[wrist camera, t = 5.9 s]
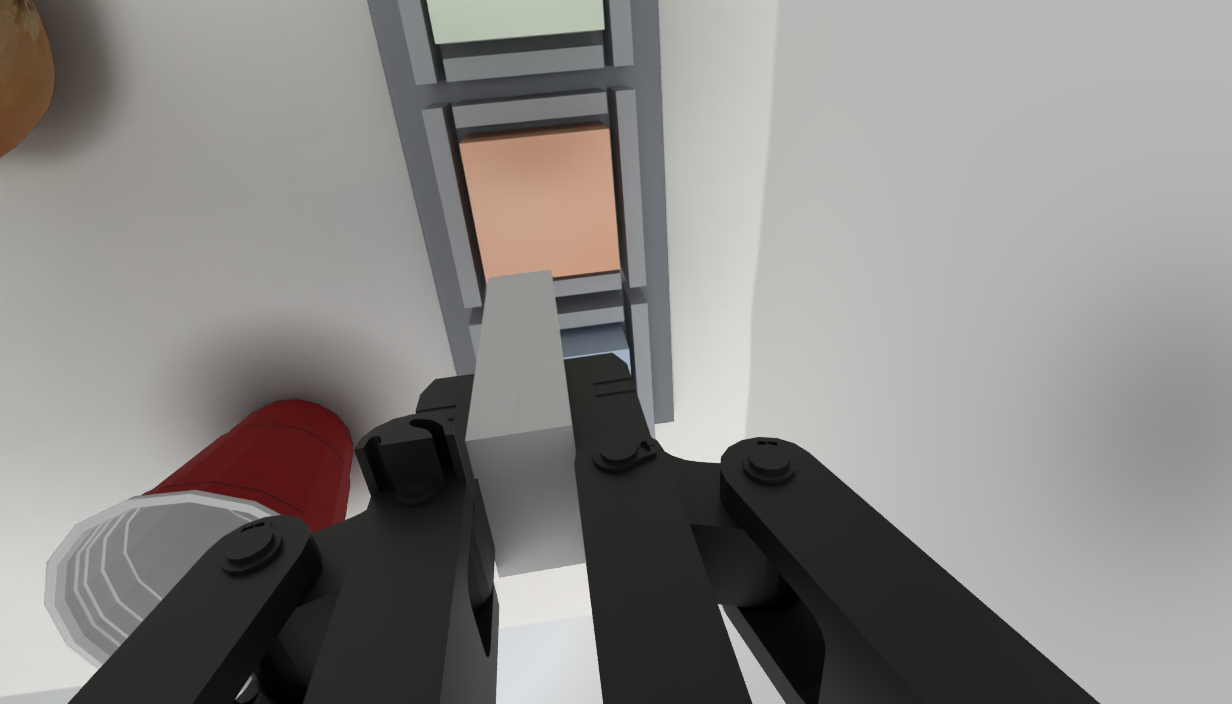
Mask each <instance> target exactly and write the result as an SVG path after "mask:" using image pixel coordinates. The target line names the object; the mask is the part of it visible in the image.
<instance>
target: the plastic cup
mask: <svg viewBox="0 0 1232 704" xmlns="http://www.w3.org/2000/svg"><path fill="white" fill-rule="evenodd" d="M352 445H353V444H352V440H351V437H350V433H349V430H348V428H347V427H346V426H345V424H344V423H343V422H342V421H341V420H340V418H339V417H338V416H337V415H336V414H334V413H332V412H331V411H329V410H327V409H326V408H324V407H322V406H320V405H319V404H315V403H310V402H306V401H301V400H287V401H276V402H274V403H272V404H270V405H268V406H265V407H263V408H261V409H259V410H258V411H255V412H253V413H251V414H250V415H249V416H248V417H246V418H245V419H244V420H243V421H242V422H240V423H239V424H238V425H237V426H236V427H234V428H233V429H232V430H231V431H230V432H228V433H227V434H224V435H222V436H220V437H219V438H218V439H217V440H215V441H214V442H213V443H211V444H210V445H209V446H208V447H206V448H205V449H204V450H202V451H201V452H200V453H199V454H197V455H196V456H195V457H193V458H192V459H191V460H190V461H188V462H187V463H186V464H184V465H183V466H182V467H181V468H179V469H178V470H177V471H176V472H174V473H173V474H172V475H170V476H169V477H168V478H167V479H165V480H164V481H163V482H161V483H160V484H159V485H158V486H156V487H155V488H154V489H152V490H150V491H148V492H146V493H144V494H142V495H141V496H134V497H132V498H130V499H128V500H126V501H124V502H122V503H120V504H118V505H116V506H113V507H111V508H109V509H107V510H105V511H103V512H101V513H99V514H97V515H95V516H93V517H90V518H88V519H86V520H84V521H82V522H80V523H78V524H76V525H75V526H74V527H73V529H72V530H71V531H70V533H69V534H68V535H67V536H66V538H65V539H64V540H63V542H62V543H61V544H60V546H59V547H58V548H57V549H56V551H55V552H54V553H53V555H52V556H51V557H50V558H49V560H48V561H47V565H46V582H45V598H44V605H45V607H46V609H47V611H48V613H49V614H50V616H51V618H52V620H53V622H54V623H55V625H56V627H57V629H58V631H59V632H60V634H61V636H62V638H63V640H64V642H65V643H66V645H67V646H69V647H70V648H71V649H73V650H74V651H75V652H76V653H78V654H79V655H80V656H82V657H83V658H84V659H86V660H87V661H88V662H89V663H91V664H92V665H93V666H95V667H96V668H97V669H100V667H101V666H102V665H103V664H104V663H105V662H106V661H107V660H108V659H109V658H110V656H111V655H112V654H113V653H114V652H115V651H116V650H117V649H118V648H119V647H120V645H121V644H122V643H123V642H124V641H125V640H126V639H127V638H128V637H129V636H130V635H131V633H132V632H133V631H134V630H135V629H136V628H137V627H138V626H139V625H140V624H141V622H142V621H143V620H144V619H145V618H146V617H147V616H148V615H149V614H150V613H151V611H152V610H153V609H154V608H155V607H156V606H157V605H158V604H159V603H160V602H161V600H162V599H163V598H164V597H165V596H166V595H167V594H168V593H169V592H170V591H171V589H172V588H173V587H174V586H175V585H176V584H177V583H178V582H179V581H180V580H181V578H182V577H183V576H184V575H185V574H186V573H187V572H188V571H189V570H190V569H191V567H192V566H193V565H194V564H195V563H196V562H197V561H198V560H199V559H200V558H201V556H202V555H203V554H204V553H205V552H206V551H207V550H208V549H209V548H211V547H212V546H213V545H214V544H215V543H216V542H217V541H219V540H220V539H221V538H222V537H223V536H225V535H227V534H228V533H230V532H232V531H233V530H235V529H237V528H239V527H240V526H242V525H244V524H247V523H249V522H252V521H255V520H258V519H261V518H263V517H268V516H276V515H284V514H285V515H290V516H295V517H299V518H301V519H302V520H303V521H304V522H305V523H306V524H307V525H308V526H309V529H310V531H311V533H313V532H316V531H319V530H321V529H324V528H327V527H329V526H332V525H335V524H337V523H340V522H342V521H345V517H346V510H347V503H348V496H349V489H350V479H349V476H350V470H351V463H352V457H353V448H352ZM251 680H252V677H251V676H250V678H249V679H248V681H247V682H246V684H245V685H244V687H243V688H242V690H241V691H240V693H239V694H238V696H237V697H239V695H240V694H241V693H242V692H243V691H244V690H245V689H246V688H247V686H248V685H249V683H250V682H251Z"/></svg>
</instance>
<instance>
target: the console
mask: <svg viewBox="0 0 1232 704" xmlns="http://www.w3.org/2000/svg"><path fill="white" fill-rule="evenodd" d="M367 1H368V6H369V10H370V14H371V18H372V22H373V27H374V31H375V35H376V39H377V43H378V47H379V52H380V56H381V60H382V64H383V68H384V72H385V77H386V81H387V85H388V89H389V93H390V98H391V102H392V106H393V110H394V114H395V118H396V123H397V127H398V131H399V135H400V139H401V143H402V148H403V152H404V156H405V160H406V164H407V169H408V173H409V177H410V181H411V185H412V189H413V194H414V198H415V202H416V206H417V210H418V215H419V219H420V223H421V227H422V231H423V235H424V240H425V244H426V248H427V252H428V256H429V260H430V265H431V269H432V273H433V277H434V281H435V286H436V290H437V294H438V298H439V302H440V306H441V311H442V315H443V319H444V323H445V327H446V331H447V336H448V340H449V344H450V348H451V352H452V357H453V361H454V365H455V369H456V373H457V376H462V375H469V374H475V369H476V361H477V354H478V347H479V340H480V333H481V326H482V319H483V312H484V305H485V298H486V291H487V284H486V279H485V274H484V269H483V264H482V259H481V253H480V248H479V243H478V238H477V233H476V228H475V223H474V218H473V212H472V207H471V202H470V197H469V192H468V187H467V182H466V177H465V171H464V166H463V161H462V156H461V151H460V146H459V143H460V142H461V141H462V139H463V138H464V136H465V135H466V134H473V133H483V132H493V131H503V130H513V129H523V128H533V127H543V126H553V125H563V124H573V123H583V122H593V121H602V122H603V123H604V124H605V125H606V126H607V127H608V128H609V134H610V146H611V159H612V172H613V184H614V197H615V210H616V223H617V235H618V248H619V261H620V269H618V270H610V271H602V272H594V273H585V274H577V275H569V276H561V277H553V278H552V279H553V286H554V293H555V301H556V308H557V315H558V322H559V329H560V330H563V329H571V328H579V327H587V326H594V325H602V324H610V323H618V322H620V324H621V327H622V330H623V332H624V335H625V338H626V341H627V344H628V347H629V354H630V367H631V377H632V380H633V383H634V386H635V389H636V392H637V395H638V398H639V401H640V404H641V407H642V410H643V413H644V416H645V419H646V422H647V425H648V428H649V431H650V434H651V437H652V438H654V439H655V427H654V424H659V423H666V422H672V421H674V410H673V383H672V357H671V331H670V304H669V278H668V251H667V225H666V199H665V172H664V146H663V119H662V93H661V66H660V40H659V14H658V0H603V12H604V26H605V29H604V30H600V31H596V32H585V33H574V34H562V35H551V36H539V37H528V38H516V39H504V40H493V41H481V42H470V43H458V44H447V45H444V44H435V40H434V35H433V30H432V25H431V20H430V15H429V10H428V5H427V0H367Z"/></svg>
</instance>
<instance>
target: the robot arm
mask: <svg viewBox="0 0 1232 704" xmlns="http://www.w3.org/2000/svg"><path fill="white" fill-rule="evenodd" d="M354 451H355V454H356V456H357V459H358V462H359V464H360V467H361V470H362V473H363V475H364V478H365V481H366V484H367V486H368V489H369V492H370V494H371V499H370V502H369V505H368V508H367V510H365V511H364V512H362V513H361V514H358V515H356V516H354V517H352V518H350V519H347V520H345V521H342V522H340V523H337V524H335V525H332V526H329V527H327V528H324V529H321V530H319V531H316V532H313V533H311V531H310V529H309V526H308V525H307V524H306V523H305V522H304V521H303V520H302V519H301V518H299V517H295V516H290V515H285V514H284V515H276V516H268V517H263V518H261V519H258V520H255V521H252V522H249V523H247V524H244V525H242V526H240V527H239V528H237V529H235V530H233V531H232V532H230V533H228V534H227V535H225V536H223V537H222V538H221V539H220V540H219V541H217V542H216V543H215V544H214V545H213V546H212V547H211V548H209V549H208V550H207V551H206V552H205V553H204V554H203V555H202V556H201V558H200V559H199V560H198V561H197V562H196V563H195V564H194V565H193V566H192V567H191V569H190V570H189V571H188V572H187V573H186V574H185V575H184V576H183V577H182V578H181V580H180V581H179V582H178V583H177V584H176V585H175V586H174V587H173V588H172V589H171V591H170V592H169V593H168V594H167V595H166V596H165V597H164V598H163V599H162V600H161V602H160V603H159V604H158V605H157V606H156V607H155V608H154V609H153V610H152V611H151V613H150V614H149V615H148V616H147V617H146V618H145V619H144V620H143V621H142V622H141V624H140V625H139V626H138V627H137V628H136V629H135V630H134V631H133V632H132V633H131V635H130V636H129V637H128V638H127V639H126V640H125V641H124V642H123V643H122V644H121V645H120V647H119V648H118V649H117V650H116V651H115V652H114V653H113V654H112V655H111V656H110V658H109V659H108V660H107V661H106V662H105V663H104V664H103V665H102V666H101V667H100V669H99V670H98V671H97V672H96V673H95V674H94V675H93V676H92V677H91V678H90V680H89V681H88V682H87V683H86V684H85V685H84V686H83V687H82V688H81V689H80V691H79V692H78V693H77V694H76V695H75V696H74V697H73V698H72V699H71V700H70V702H69V703H68V704H496V682H497V680H496V679H497V654H498V626H499V603H498V598H497V594H496V590H495V586H494V582H493V580H494V561H495V562H496V566H497V570H498V574H499V577H505V576H511V575H517V574H523V573H528V572H534V571H540V570H546V569H552V568H557V567H563V566H569V565H575V564H581V563H586V566H587V574H588V583H589V591H590V599H591V607H592V615H593V623H594V631H595V640H596V647H597V656H598V664H599V673H600V681H601V689H602V697H603V704H752V701H751V698H750V696H749V693H748V690H747V687H746V684H745V681H744V678H743V676H742V673H741V670H740V667H739V664H738V661H737V658H736V656H735V653H734V650H733V647H732V644H731V641H730V638H729V636H728V632H727V630H726V627H725V624H724V621H723V618H722V615H721V612H720V610H719V607H718V604H722V606H723V608H724V611H725V613H726V615H727V616H728V617H729V619H730V621H731V622H732V624H733V625H734V627H735V628H736V629H737V631H738V633H739V634H740V635H741V637H742V638H743V640H744V641H745V643H746V644H747V646H748V647H749V649H750V650H751V652H752V653H753V655H754V656H755V658H756V659H757V661H758V662H759V664H760V665H761V667H762V668H763V670H764V671H765V673H766V674H767V676H768V677H769V679H770V680H771V682H772V683H773V685H774V686H775V688H776V689H777V691H778V692H779V694H780V695H781V697H782V698H783V700H784V701H785V703H786V704H1100V703H1099V702H1098V701H1096V700H1095V699H1094V698H1093V697H1092V696H1091V695H1089V694H1088V693H1087V692H1086V691H1085V690H1084V689H1082V688H1081V687H1080V686H1079V685H1078V684H1077V683H1075V682H1074V681H1073V680H1072V679H1071V678H1070V677H1068V676H1067V675H1066V674H1065V673H1064V672H1063V671H1062V670H1060V669H1059V668H1058V667H1057V666H1056V665H1055V664H1054V663H1052V662H1051V661H1050V660H1049V659H1048V658H1046V657H1045V656H1044V655H1043V654H1042V653H1041V652H1040V651H1038V650H1037V649H1036V648H1035V647H1034V646H1033V645H1032V644H1030V643H1029V642H1028V641H1027V640H1025V639H1024V638H1023V637H1022V636H1021V635H1020V634H1019V633H1018V632H1016V631H1015V630H1014V629H1013V628H1012V627H1011V626H1009V625H1008V624H1007V623H1006V622H1005V621H1004V620H1003V619H1001V618H1000V617H999V616H998V615H997V614H996V613H994V612H993V611H992V610H991V609H990V608H988V607H987V606H986V605H985V604H984V603H983V602H981V601H980V600H979V599H978V598H977V597H976V596H975V595H973V594H972V593H971V592H970V591H969V590H968V589H967V588H965V587H964V586H963V585H962V584H961V583H960V582H958V581H957V580H956V579H955V578H954V577H953V576H951V575H950V574H949V573H948V572H947V571H946V570H945V569H943V568H942V567H941V566H940V565H939V564H938V563H936V562H935V561H934V560H933V559H932V558H931V557H929V556H928V555H927V554H926V553H925V552H924V551H922V550H921V549H920V548H919V547H918V546H917V545H916V544H914V543H913V542H912V541H911V540H910V539H909V538H907V537H906V536H905V535H904V534H903V533H902V532H900V531H899V530H898V529H897V528H896V527H895V526H893V525H892V524H891V523H890V522H889V521H888V520H887V519H885V518H884V517H883V516H882V515H881V514H880V513H878V512H877V511H876V510H875V509H874V508H873V507H871V506H870V505H869V504H868V503H867V502H866V501H865V500H863V499H862V498H861V497H860V496H859V495H857V494H856V493H855V492H854V491H853V490H852V489H851V488H849V487H848V486H847V485H846V484H845V483H844V482H842V481H841V480H840V479H839V478H838V477H837V476H835V475H834V474H833V473H832V472H831V471H830V470H829V469H827V468H826V467H825V466H824V465H823V464H822V463H820V462H819V461H818V460H817V459H816V458H815V457H813V456H812V455H811V454H810V453H809V452H807V451H806V450H804V449H803V448H801V447H799V446H798V445H796V444H794V443H791V442H788V441H785V440H781V439H778V438H766V437H765V438H764V437H756V438H751V439H746V440H741V441H739V442H737V443H736V444H734V445H732V446H730V447H728V449H727V450H726V451H725V453H724V454H723V455H722V456H721V463H707V462H696V461H689V460H683V459H680V458H677V457H674V456H672V455H670V454H668V453H666V452H665V451H664V450H663V448H662V447H661V445H660V444H659V443H658V441H657V440H655V439H654V438H652V437H651V434H650V431H649V428H648V425H647V422H646V419H645V416H644V413H643V410H642V407H641V404H640V401H639V398H638V395H637V392H636V389H635V386H634V383H633V380H632V377H631V374H630V371H629V368H628V365H627V363H626V362H624V361H623V360H622V359H620V358H619V357H618V356H617V355H615V354H614V353H606V354H598V355H591V356H584V357H577V358H570V359H564V357H563V350H562V343H561V336H560V329H559V322H558V315H557V308H556V301H555V293H554V286H553V279H552V272H551V270H544V271H536V272H528V273H520V274H512V275H505V276H497V277H489V278H488V284H487V291H486V298H485V305H484V312H483V319H482V326H481V333H480V340H479V347H478V354H477V361H476V369H475V374H469V375H462V376H455V377H448V378H440V379H435V380H434V381H433V382H432V383H431V384H430V385H429V386H428V387H427V388H426V389H425V390H424V391H423V392H422V393H421V395H420V398H419V401H418V405H417V408H416V414H412V415H408V416H404V417H400V418H396V419H393V420H391V421H388V422H386V423H384V424H382V425H380V426H377V427H376V428H374V429H373V430H372V431H370V432H369V433H368V434H366V435H365V436H364V437H362V439H361V440H360V441H359V443H358V444H357V446H356V447H355V448H354ZM250 676H251V677H252V680H251V682H250V683H249V685H248V686H247V688H246V689H245V690H244V691H243V692H242V693H241V694H240V695H239V697H238V698H237V699H236V697H237V696H238V694H239V693H240V691H241V690H242V688H243V687H244V685H245V684H246V682H247V681H248V679H249V678H250Z"/></svg>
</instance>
